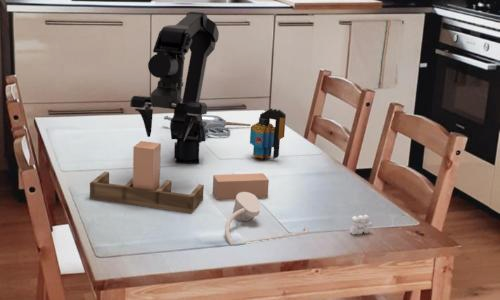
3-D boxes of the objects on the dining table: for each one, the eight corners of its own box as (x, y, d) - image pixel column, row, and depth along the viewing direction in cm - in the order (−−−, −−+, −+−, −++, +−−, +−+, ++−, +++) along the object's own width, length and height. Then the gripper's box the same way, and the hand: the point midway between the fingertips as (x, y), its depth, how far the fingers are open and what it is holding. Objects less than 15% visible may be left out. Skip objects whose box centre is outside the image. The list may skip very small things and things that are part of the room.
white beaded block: (352, 235, 186) (355, 217, 185) (348, 233, 187) (352, 214, 186) (370, 234, 188) (373, 216, 187) (367, 232, 189) (370, 214, 188)
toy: (245, 159, 234) (248, 108, 229) (258, 150, 242) (261, 101, 238) (277, 165, 231) (280, 113, 226) (288, 156, 239) (292, 106, 235)
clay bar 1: (140, 191, 202) (141, 141, 198) (159, 194, 201) (160, 143, 197) (132, 198, 198) (133, 146, 194) (152, 201, 197) (153, 149, 193)
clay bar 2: (262, 191, 211) (263, 173, 209) (267, 198, 206) (268, 180, 204) (212, 193, 207) (213, 174, 206) (216, 200, 203) (217, 181, 201)
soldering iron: (170, 144, 247) (162, 125, 261) (259, 149, 255) (246, 130, 269) (172, 126, 244) (164, 107, 259) (262, 132, 252) (249, 113, 267)
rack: (104, 186, 207) (104, 171, 206) (203, 200, 202) (203, 184, 201) (89, 198, 199) (89, 182, 197) (192, 213, 193) (192, 197, 192)
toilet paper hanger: (232, 244, 176) (203, 197, 188) (227, 261, 179) (199, 213, 190) (312, 231, 186) (279, 186, 197) (306, 247, 189) (275, 202, 200)
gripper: (124, 73, 201) (119, 137, 203) (198, 81, 197) (192, 146, 199) (140, 73, 212) (135, 133, 214) (210, 81, 208) (204, 142, 210)
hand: (165, 138), depth 209 cm, fingers open, 9 cm apart
